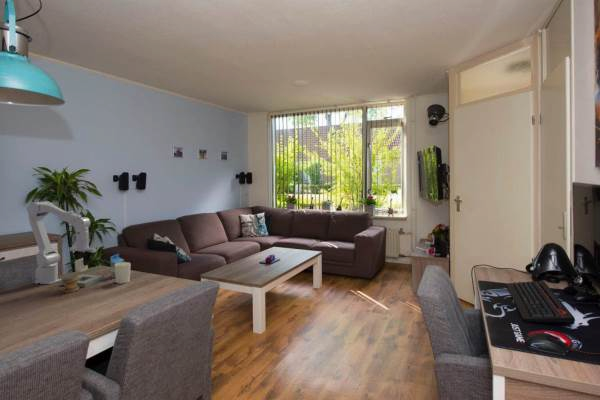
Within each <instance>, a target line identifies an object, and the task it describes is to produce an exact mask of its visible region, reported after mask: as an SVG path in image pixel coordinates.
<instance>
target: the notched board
mask: <svg viewBox="0 0 600 400" xmlns="http://www.w3.org/2000/svg"><path fill="white" fill-rule="evenodd" d="M75 277H79V281H77V286H78V287H79V288H86V287H89V286H91V285H93V284H96V283H98V282H101V281H103V280H105V275H101V274H100V275H98V274H83V273H82V274H79V275H76V276H75ZM60 284H61V286H62V285H64V287H65V283H63V281H62V280H61V283H60Z"/></svg>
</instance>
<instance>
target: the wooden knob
mask: <svg viewBox="0 0 600 400" xmlns="http://www.w3.org/2000/svg"><path fill="white" fill-rule="evenodd" d="M62 281H63V283H65V286H64V288H63V289H62V292H63V293H65V294H69V293H75V292H76V293H77V292H78V291H79V290H80V287H78V286H77V281H79V277H76V276H70V277H65V278H63V279H62V280H61V282H62Z"/></svg>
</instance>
